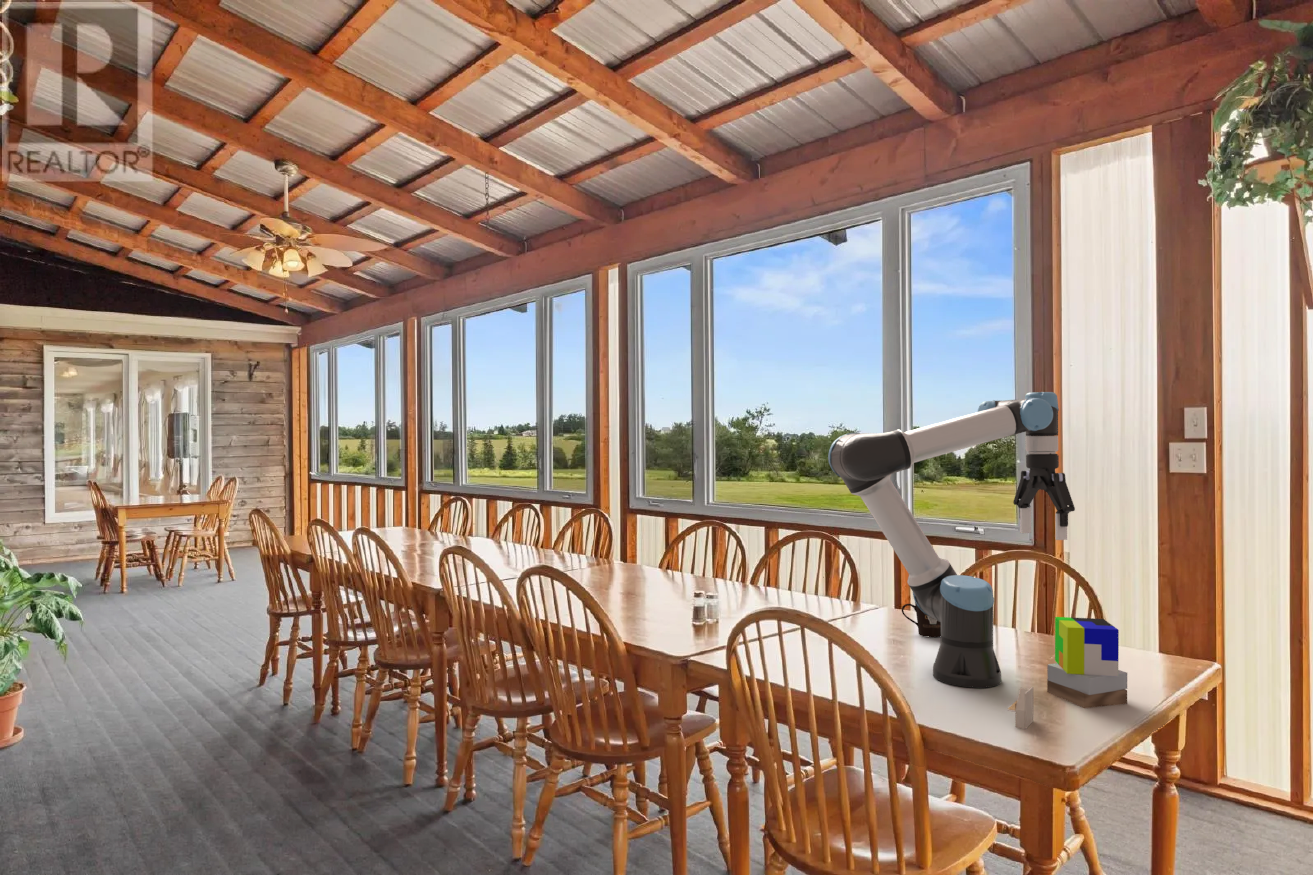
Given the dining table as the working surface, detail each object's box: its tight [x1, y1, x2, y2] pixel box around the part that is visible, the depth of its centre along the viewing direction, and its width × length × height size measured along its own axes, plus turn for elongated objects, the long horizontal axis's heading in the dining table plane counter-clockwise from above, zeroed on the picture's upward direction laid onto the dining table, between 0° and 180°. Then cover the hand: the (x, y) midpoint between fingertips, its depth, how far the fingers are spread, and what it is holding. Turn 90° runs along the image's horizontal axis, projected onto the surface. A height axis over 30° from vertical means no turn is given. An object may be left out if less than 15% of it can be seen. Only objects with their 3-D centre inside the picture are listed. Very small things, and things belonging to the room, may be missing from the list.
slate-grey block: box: [1047, 662, 1128, 695], centre depth 179 cm, size 11×11×4 cm
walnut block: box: [1046, 678, 1128, 709], centre depth 179 cm, size 11×11×4 cm
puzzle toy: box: [1054, 616, 1120, 677], centre depth 178 cm, size 10×10×10 cm
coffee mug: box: [901, 601, 941, 638], centre depth 235 cm, size 12×9×10 cm
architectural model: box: [1007, 686, 1034, 730], centre depth 164 cm, size 3×7×7 cm, turn 141°
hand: (1043, 536), depth 207 cm, fingers open, 13 cm apart
